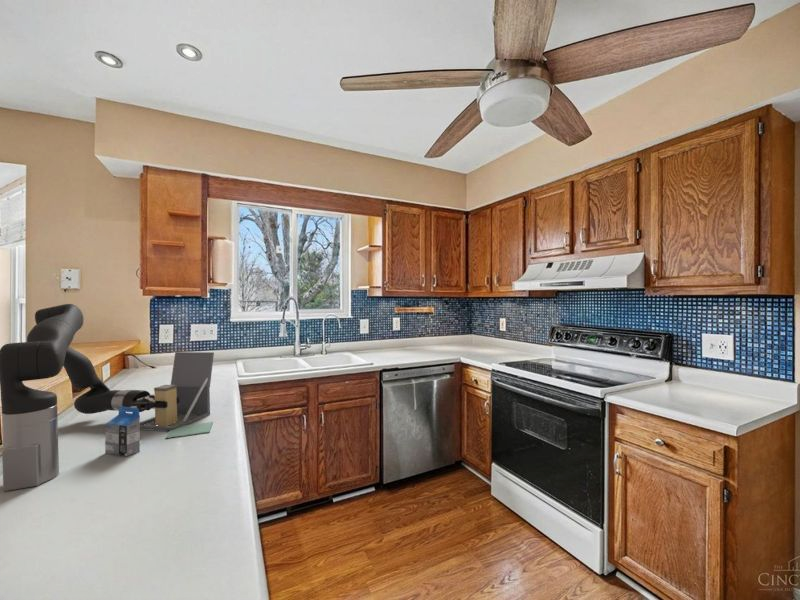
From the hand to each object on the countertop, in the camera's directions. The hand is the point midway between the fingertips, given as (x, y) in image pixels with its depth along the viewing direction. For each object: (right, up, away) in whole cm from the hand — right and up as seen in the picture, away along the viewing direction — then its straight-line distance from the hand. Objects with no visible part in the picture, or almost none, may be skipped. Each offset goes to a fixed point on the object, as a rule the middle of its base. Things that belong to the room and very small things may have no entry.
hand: (172, 402), depth 122 cm
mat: (+10, -7, -6) cm, 14 cm away
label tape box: (0, -8, -22) cm, 24 cm away
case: (-2, -8, +5) cm, 9 cm away
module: (-2, -8, +1) cm, 8 cm away
